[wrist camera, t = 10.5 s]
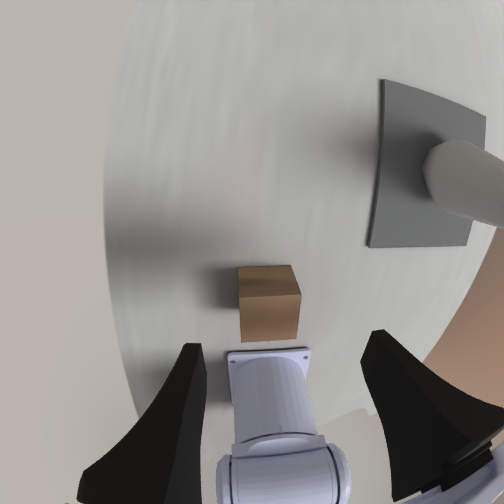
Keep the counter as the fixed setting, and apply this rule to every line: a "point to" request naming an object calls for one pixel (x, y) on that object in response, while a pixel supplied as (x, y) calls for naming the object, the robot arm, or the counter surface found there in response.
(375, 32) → the counter surface
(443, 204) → the salt shaker
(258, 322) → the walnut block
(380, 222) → the rubber mat
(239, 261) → the counter surface
